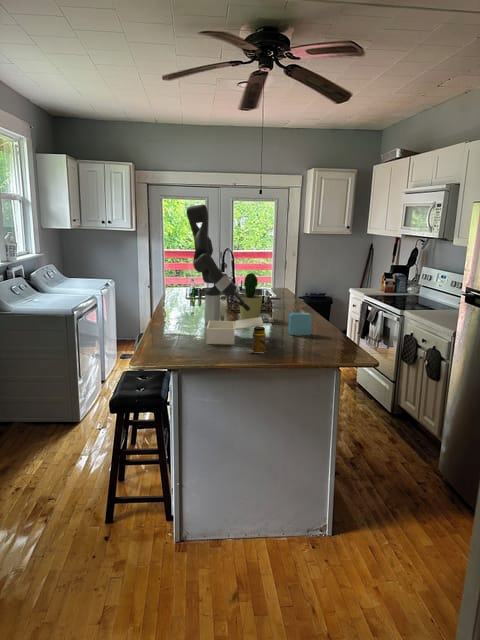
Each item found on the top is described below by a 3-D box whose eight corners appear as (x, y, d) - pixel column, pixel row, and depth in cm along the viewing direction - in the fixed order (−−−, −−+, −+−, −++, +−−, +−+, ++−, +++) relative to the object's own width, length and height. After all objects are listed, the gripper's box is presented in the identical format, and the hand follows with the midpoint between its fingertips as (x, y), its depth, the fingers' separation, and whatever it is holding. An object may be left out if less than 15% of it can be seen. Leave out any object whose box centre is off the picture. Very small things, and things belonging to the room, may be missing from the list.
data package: (309, 333, 252) (310, 312, 249) (311, 335, 247) (312, 314, 245) (288, 333, 251) (289, 312, 248) (289, 335, 246) (290, 314, 244)
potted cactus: (249, 322, 276) (250, 274, 269) (233, 318, 287) (233, 271, 280) (267, 319, 286) (268, 272, 279) (250, 315, 297) (251, 270, 290)
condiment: (267, 353, 212) (268, 329, 209) (250, 354, 210) (250, 329, 207) (263, 349, 219) (263, 325, 216) (246, 350, 217) (246, 326, 214)
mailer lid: (263, 324, 224) (263, 325, 224) (261, 317, 242) (261, 318, 242) (235, 328, 224) (235, 329, 224) (235, 320, 242) (235, 321, 242)
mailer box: (206, 343, 226) (206, 328, 224) (208, 335, 243) (208, 320, 242) (234, 344, 226) (234, 329, 224) (234, 335, 244) (234, 321, 242)
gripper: (230, 282, 222) (254, 307, 225) (231, 279, 235) (253, 302, 238) (220, 293, 223) (244, 317, 226) (220, 289, 236) (243, 312, 239)
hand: (249, 309), depth 232 cm, fingers closed
